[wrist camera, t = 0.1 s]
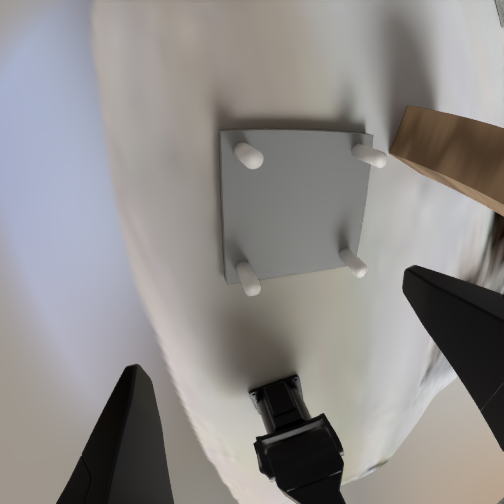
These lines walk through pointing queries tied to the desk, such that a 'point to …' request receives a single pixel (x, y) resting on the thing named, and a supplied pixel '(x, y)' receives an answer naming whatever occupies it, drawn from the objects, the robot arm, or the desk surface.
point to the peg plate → (292, 201)
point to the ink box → (500, 11)
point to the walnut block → (454, 153)
